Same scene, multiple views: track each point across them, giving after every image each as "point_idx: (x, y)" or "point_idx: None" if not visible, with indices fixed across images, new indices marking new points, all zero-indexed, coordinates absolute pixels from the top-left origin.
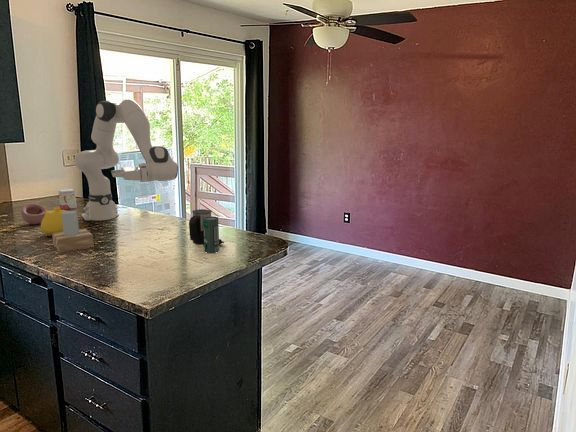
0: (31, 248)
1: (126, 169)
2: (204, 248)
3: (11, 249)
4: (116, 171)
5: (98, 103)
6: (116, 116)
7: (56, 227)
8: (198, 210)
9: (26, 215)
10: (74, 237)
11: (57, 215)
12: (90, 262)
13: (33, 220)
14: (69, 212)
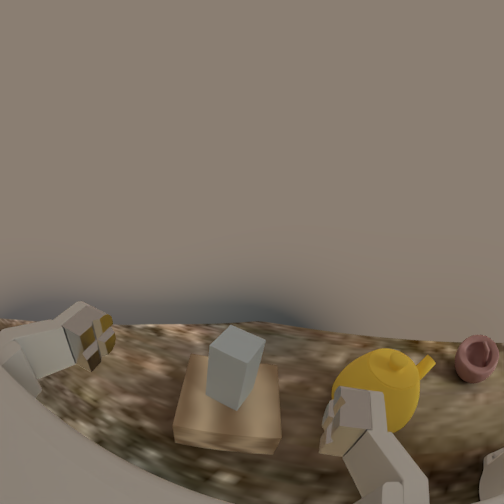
0: (266, 352)
1: (56, 500)
2: None
3: (280, 331)
4: (368, 454)
5: None
6: None
7: (336, 383)
8: None
9: (458, 348)
10: (183, 383)
11: (363, 367)
12: (66, 374)
13: (455, 365)
14: (234, 342)
